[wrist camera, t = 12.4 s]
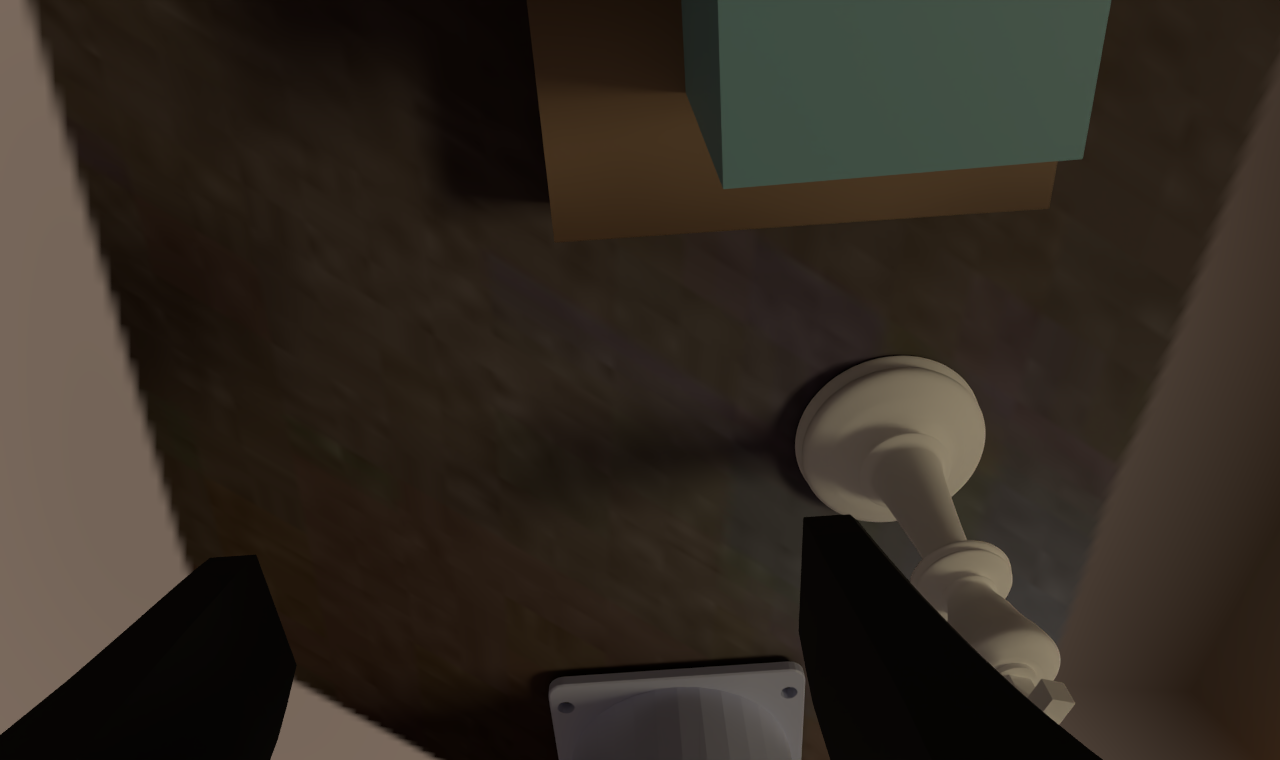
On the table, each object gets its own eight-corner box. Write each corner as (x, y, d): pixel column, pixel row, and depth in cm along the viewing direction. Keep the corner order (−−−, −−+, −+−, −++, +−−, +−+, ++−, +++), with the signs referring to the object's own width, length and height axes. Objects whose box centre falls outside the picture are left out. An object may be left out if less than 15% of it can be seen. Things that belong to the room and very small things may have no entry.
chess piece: (768, 488, 24) (860, 833, 15) (836, 334, 21) (993, 635, 13) (929, 524, 25) (1106, 870, 16) (1012, 379, 22) (1271, 691, 14)
